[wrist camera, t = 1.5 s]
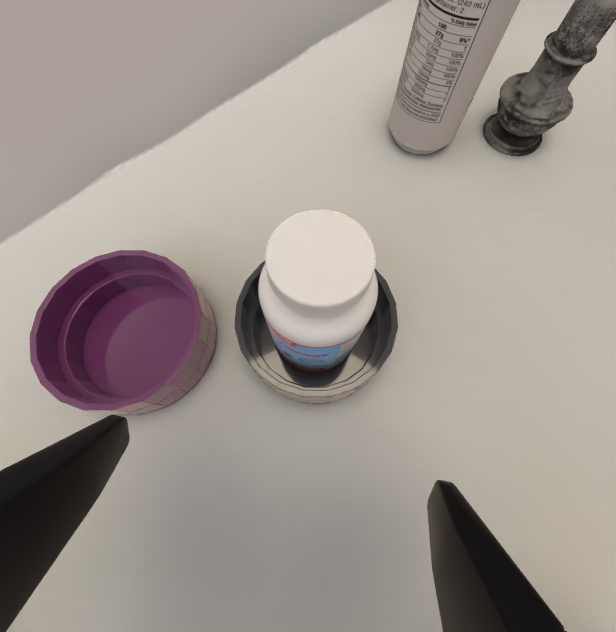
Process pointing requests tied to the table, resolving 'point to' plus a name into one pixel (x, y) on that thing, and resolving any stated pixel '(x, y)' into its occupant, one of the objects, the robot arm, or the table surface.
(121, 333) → the plum bowl
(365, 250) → the pill bottle
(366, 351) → the charcoal bowl
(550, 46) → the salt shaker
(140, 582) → the table surface
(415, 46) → the energy drink can
